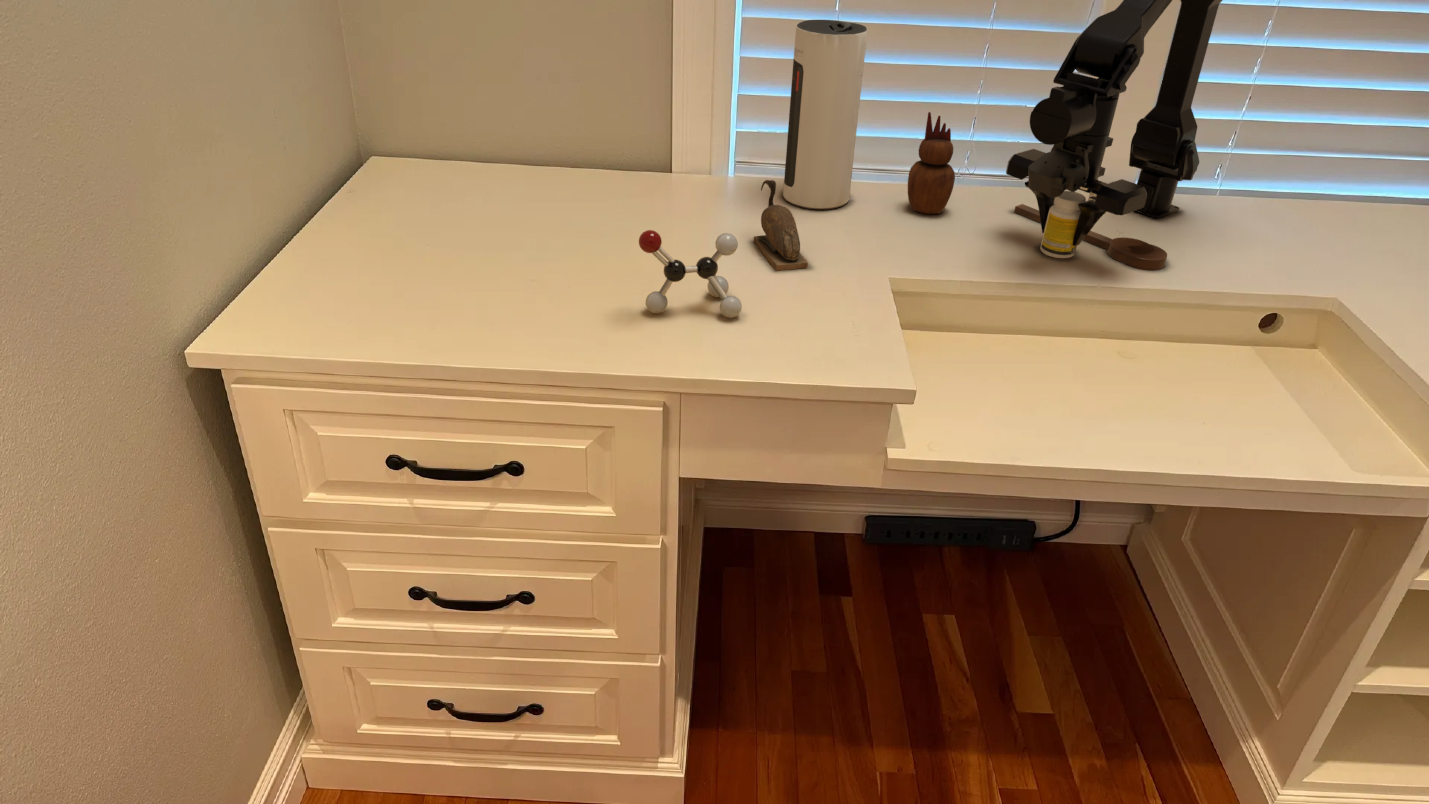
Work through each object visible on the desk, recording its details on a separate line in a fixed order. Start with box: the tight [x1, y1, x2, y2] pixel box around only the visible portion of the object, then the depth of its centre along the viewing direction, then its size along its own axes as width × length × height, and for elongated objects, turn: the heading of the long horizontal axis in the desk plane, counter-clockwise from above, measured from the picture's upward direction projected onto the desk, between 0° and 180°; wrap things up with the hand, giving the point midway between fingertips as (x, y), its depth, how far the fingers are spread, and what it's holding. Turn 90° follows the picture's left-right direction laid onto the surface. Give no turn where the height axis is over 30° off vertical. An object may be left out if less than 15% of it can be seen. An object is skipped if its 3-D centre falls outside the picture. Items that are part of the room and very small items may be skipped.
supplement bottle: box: [1039, 190, 1087, 259], centre depth 137 cm, size 5×5×8 cm
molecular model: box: [638, 229, 743, 319], centre depth 118 cm, size 8×12×11 cm
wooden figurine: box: [907, 111, 956, 215], centre depth 147 cm, size 7×6×15 cm
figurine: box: [753, 179, 809, 271], centre depth 135 cm, size 14×4×9 cm, turn 17°
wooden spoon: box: [1013, 203, 1168, 271], centre depth 144 cm, size 24×6×2 cm, turn 38°
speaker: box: [782, 19, 869, 210], centre depth 147 cm, size 11×10×26 cm
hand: (1060, 239), depth 139 cm, fingers closed on supplement bottle, 5 cm apart
